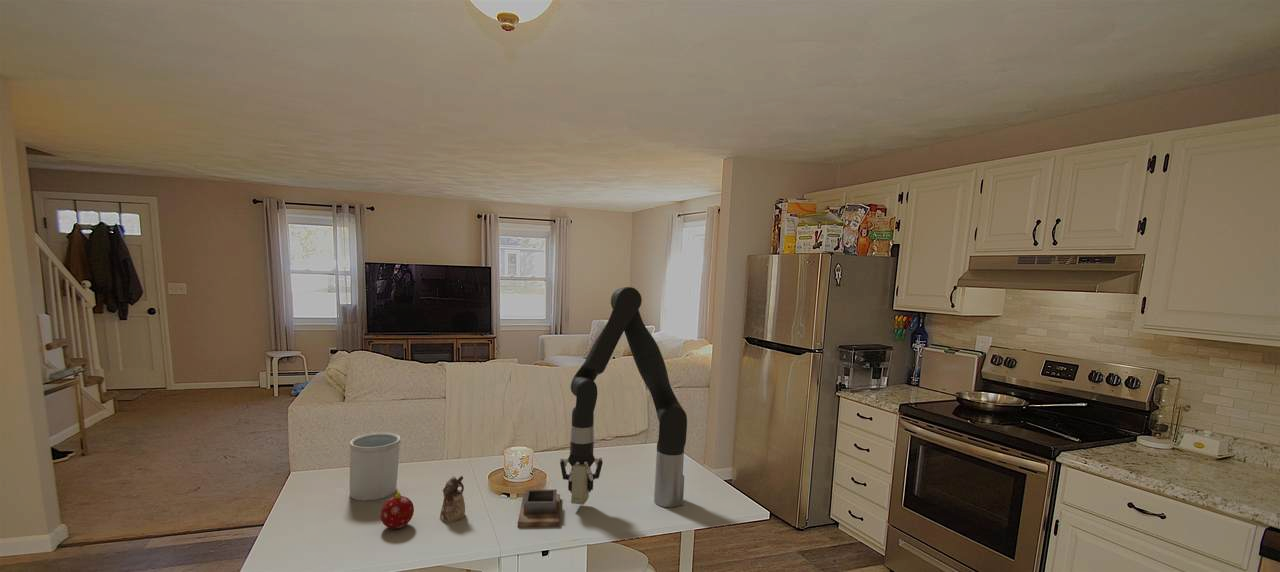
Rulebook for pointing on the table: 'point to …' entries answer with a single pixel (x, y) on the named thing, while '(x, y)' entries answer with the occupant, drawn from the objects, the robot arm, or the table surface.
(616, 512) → the table surface
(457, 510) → the figurine
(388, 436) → the utensil holder
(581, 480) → the skincare box
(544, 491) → the collar
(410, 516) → the christmas ornament
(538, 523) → the keeper board
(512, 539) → the table surface
